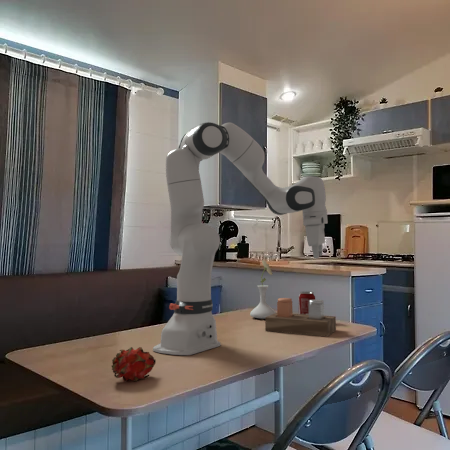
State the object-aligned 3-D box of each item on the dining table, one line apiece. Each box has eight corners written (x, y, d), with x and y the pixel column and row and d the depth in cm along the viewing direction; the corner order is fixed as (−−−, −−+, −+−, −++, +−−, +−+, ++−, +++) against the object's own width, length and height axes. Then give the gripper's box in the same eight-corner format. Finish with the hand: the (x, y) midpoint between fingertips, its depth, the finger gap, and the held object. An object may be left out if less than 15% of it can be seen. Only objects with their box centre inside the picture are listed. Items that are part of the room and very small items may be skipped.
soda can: (317, 323, 178) (316, 293, 178) (300, 323, 178) (299, 293, 178) (314, 320, 184) (313, 291, 185) (297, 320, 185) (297, 291, 185)
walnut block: (327, 336, 153) (327, 321, 153) (265, 331, 164) (265, 317, 164) (335, 330, 164) (335, 316, 164) (277, 325, 174) (276, 312, 175)
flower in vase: (274, 320, 184) (273, 260, 185) (247, 319, 187) (247, 260, 188) (278, 315, 197) (277, 259, 198) (253, 314, 200) (252, 259, 201)
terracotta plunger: (289, 319, 163) (289, 300, 163) (276, 318, 166) (275, 299, 166) (293, 317, 168) (293, 298, 168) (280, 316, 170) (280, 297, 170)
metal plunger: (321, 321, 158) (321, 301, 158) (307, 320, 160) (307, 301, 160) (325, 319, 162) (325, 300, 163) (311, 318, 165) (311, 299, 165)
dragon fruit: (106, 390, 105) (151, 387, 112) (121, 375, 100) (167, 373, 107) (102, 356, 110) (145, 355, 117) (116, 340, 105) (160, 340, 112)
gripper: (310, 220, 175) (313, 255, 175) (302, 220, 156) (305, 260, 156) (327, 219, 173) (329, 254, 173) (320, 219, 154) (323, 259, 154)
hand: (318, 257), depth 164 cm, fingers open, 8 cm apart
